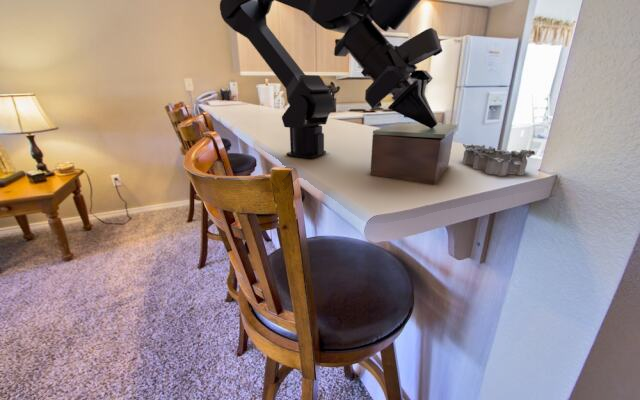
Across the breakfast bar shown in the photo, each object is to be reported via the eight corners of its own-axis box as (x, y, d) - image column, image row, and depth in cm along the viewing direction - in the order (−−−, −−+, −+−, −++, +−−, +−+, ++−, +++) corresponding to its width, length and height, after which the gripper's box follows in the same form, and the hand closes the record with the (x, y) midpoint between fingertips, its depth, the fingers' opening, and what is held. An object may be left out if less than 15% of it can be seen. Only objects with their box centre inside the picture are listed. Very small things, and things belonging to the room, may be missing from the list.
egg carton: (532, 176, 49) (539, 151, 47) (489, 177, 48) (494, 152, 47) (492, 160, 58) (497, 139, 57) (456, 161, 58) (460, 140, 56)
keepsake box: (448, 166, 54) (454, 129, 52) (434, 184, 44) (440, 140, 42) (393, 159, 59) (396, 125, 57) (370, 174, 49) (372, 134, 47)
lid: (457, 128, 51) (458, 124, 51) (444, 138, 42) (445, 134, 41) (396, 125, 57) (396, 122, 57) (372, 134, 47) (372, 130, 47)
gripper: (392, -5, 37) (474, 89, 35) (426, 21, 51) (485, 87, 50) (336, 67, 43) (403, 148, 42) (381, 71, 58) (431, 131, 57)
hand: (434, 126), depth 48 cm, fingers closed, pressing on lid
